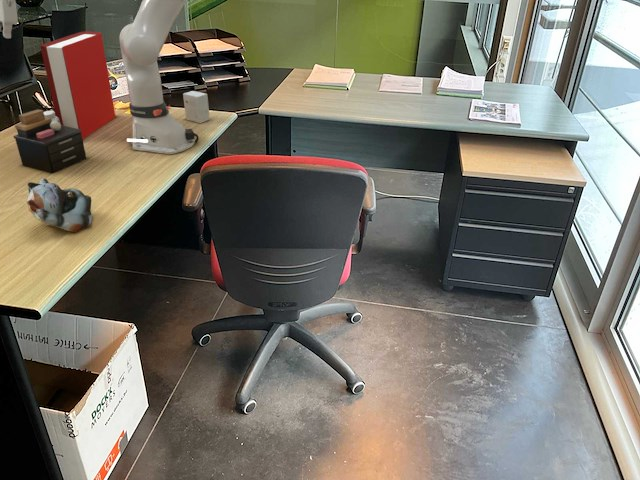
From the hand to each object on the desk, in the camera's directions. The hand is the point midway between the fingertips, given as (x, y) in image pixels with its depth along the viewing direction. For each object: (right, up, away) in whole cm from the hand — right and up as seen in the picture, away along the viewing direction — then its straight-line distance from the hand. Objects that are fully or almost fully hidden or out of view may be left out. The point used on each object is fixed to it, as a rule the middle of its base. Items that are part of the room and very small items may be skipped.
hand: (2, 34), depth 160 cm
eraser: (+9, -29, +8) cm, 31 cm away
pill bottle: (0, -25, +33) cm, 42 cm away
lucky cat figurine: (+28, -57, -19) cm, 66 cm away
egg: (+10, -26, +12) cm, 31 cm away
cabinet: (+8, -36, +15) cm, 40 cm away
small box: (+45, -13, +56) cm, 73 cm away
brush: (+4, -27, +11) cm, 29 cm away
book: (+7, -18, +46) cm, 50 cm away
